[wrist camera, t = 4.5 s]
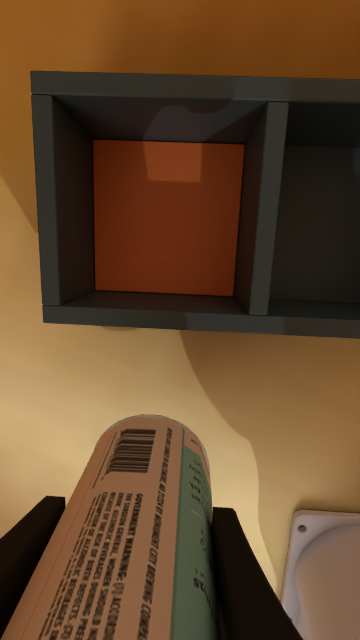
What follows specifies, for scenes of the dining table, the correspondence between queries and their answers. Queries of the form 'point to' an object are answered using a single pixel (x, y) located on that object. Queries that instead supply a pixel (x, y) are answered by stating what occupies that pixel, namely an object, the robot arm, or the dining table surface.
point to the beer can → (130, 545)
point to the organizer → (199, 202)
